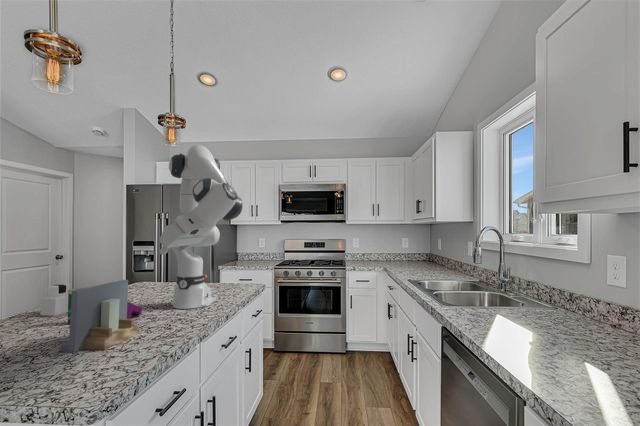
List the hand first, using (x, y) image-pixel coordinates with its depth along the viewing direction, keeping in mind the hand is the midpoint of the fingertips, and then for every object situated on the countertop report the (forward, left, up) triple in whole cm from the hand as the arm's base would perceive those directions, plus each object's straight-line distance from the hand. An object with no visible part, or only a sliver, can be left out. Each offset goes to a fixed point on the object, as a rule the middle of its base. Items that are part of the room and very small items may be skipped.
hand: (170, 252), depth 103 cm
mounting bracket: (-16, -31, -29) cm, 46 cm away
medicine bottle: (-20, -65, -29) cm, 74 cm away
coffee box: (-11, -44, -29) cm, 54 cm away
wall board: (+4, -23, -29) cm, 37 cm away
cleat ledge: (+4, -17, -29) cm, 34 cm away
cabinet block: (+4, -18, -26) cm, 32 cm away
